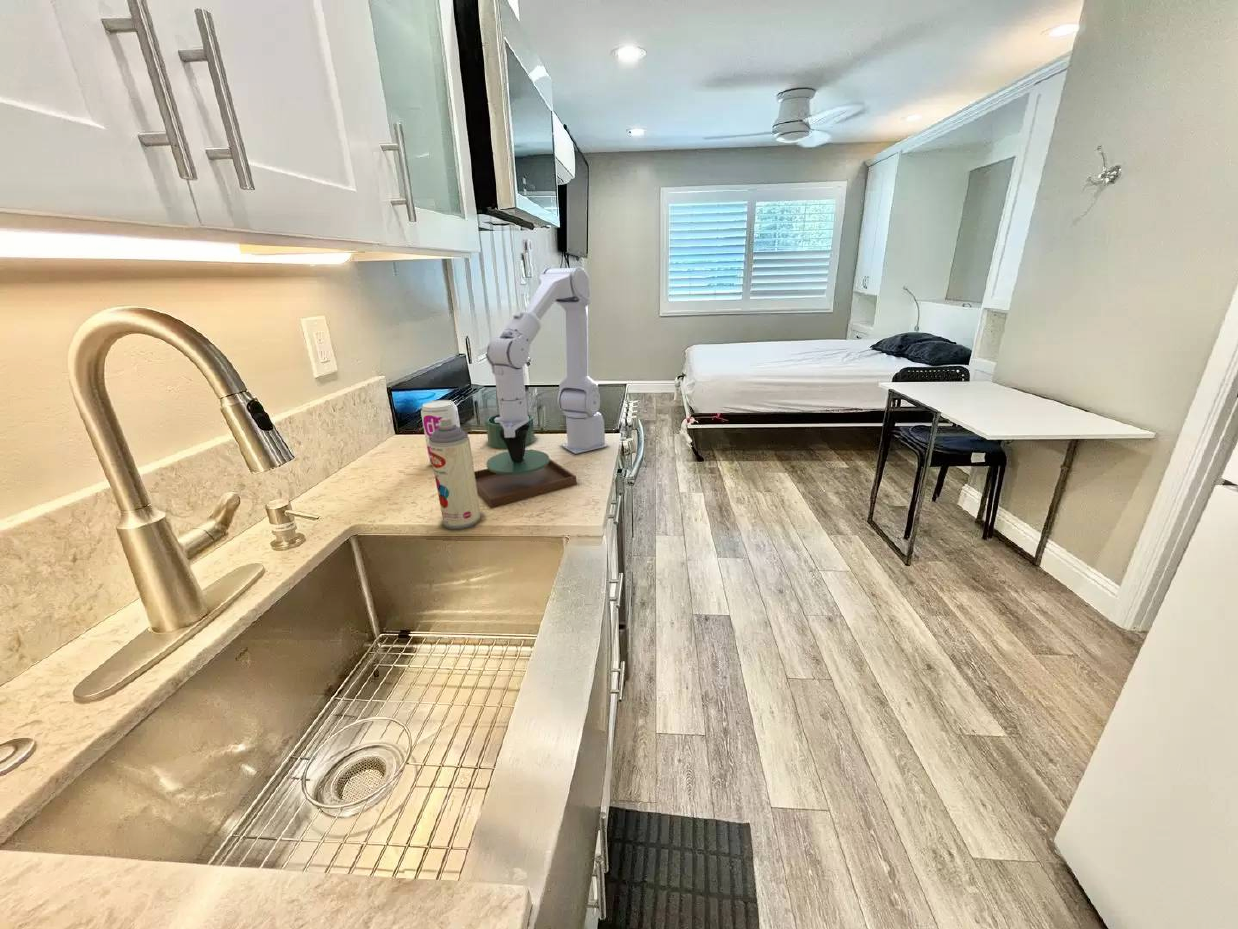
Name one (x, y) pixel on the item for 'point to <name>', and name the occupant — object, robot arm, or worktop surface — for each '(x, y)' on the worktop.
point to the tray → (521, 483)
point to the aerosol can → (454, 476)
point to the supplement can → (437, 417)
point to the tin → (495, 428)
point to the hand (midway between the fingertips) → (518, 458)
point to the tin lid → (518, 463)
